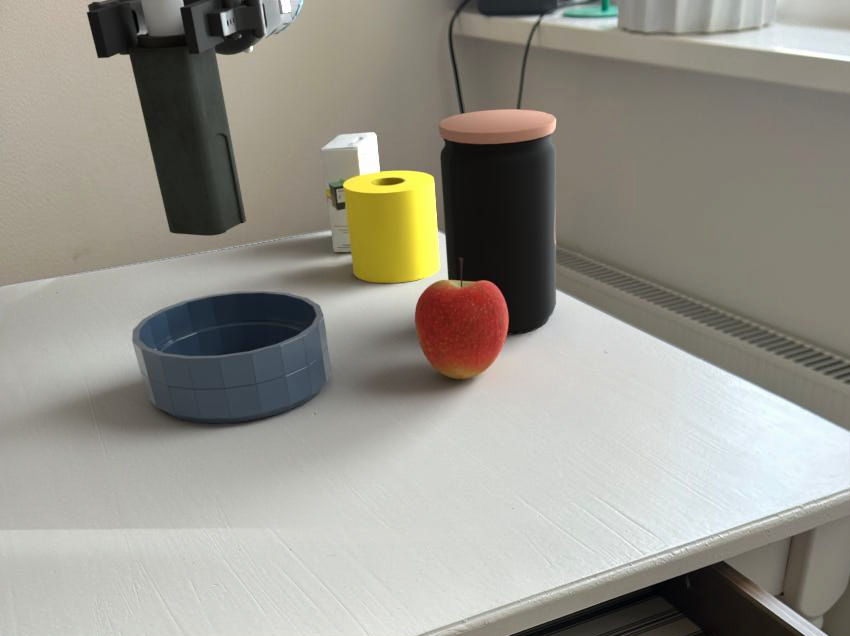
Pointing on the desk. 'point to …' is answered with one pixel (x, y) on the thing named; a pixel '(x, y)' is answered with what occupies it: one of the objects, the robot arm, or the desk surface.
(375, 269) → the yellow toilet paper roll
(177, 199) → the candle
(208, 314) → the bowl
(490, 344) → the apple
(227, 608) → the desk surface
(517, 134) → the coffee jar
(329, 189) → the ink box
